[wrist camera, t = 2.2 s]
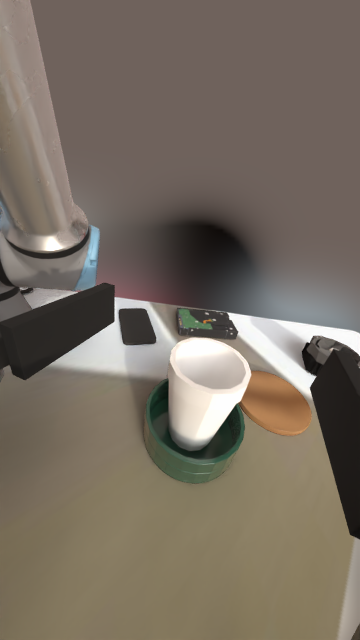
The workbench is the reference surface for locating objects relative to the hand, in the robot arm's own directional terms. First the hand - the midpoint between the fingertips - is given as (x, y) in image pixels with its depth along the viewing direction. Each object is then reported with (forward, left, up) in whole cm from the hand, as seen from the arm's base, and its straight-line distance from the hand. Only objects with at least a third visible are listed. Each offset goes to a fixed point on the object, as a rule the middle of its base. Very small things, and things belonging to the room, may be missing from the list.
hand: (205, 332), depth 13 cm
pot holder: (-12, +20, -22) cm, 33 cm away
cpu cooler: (-21, +39, -22) cm, 50 cm away
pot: (-7, +4, -22) cm, 24 cm away
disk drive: (-36, +13, -22) cm, 44 cm away
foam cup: (-7, +4, -22) cm, 24 cm away
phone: (-34, -5, -22) cm, 41 cm away
